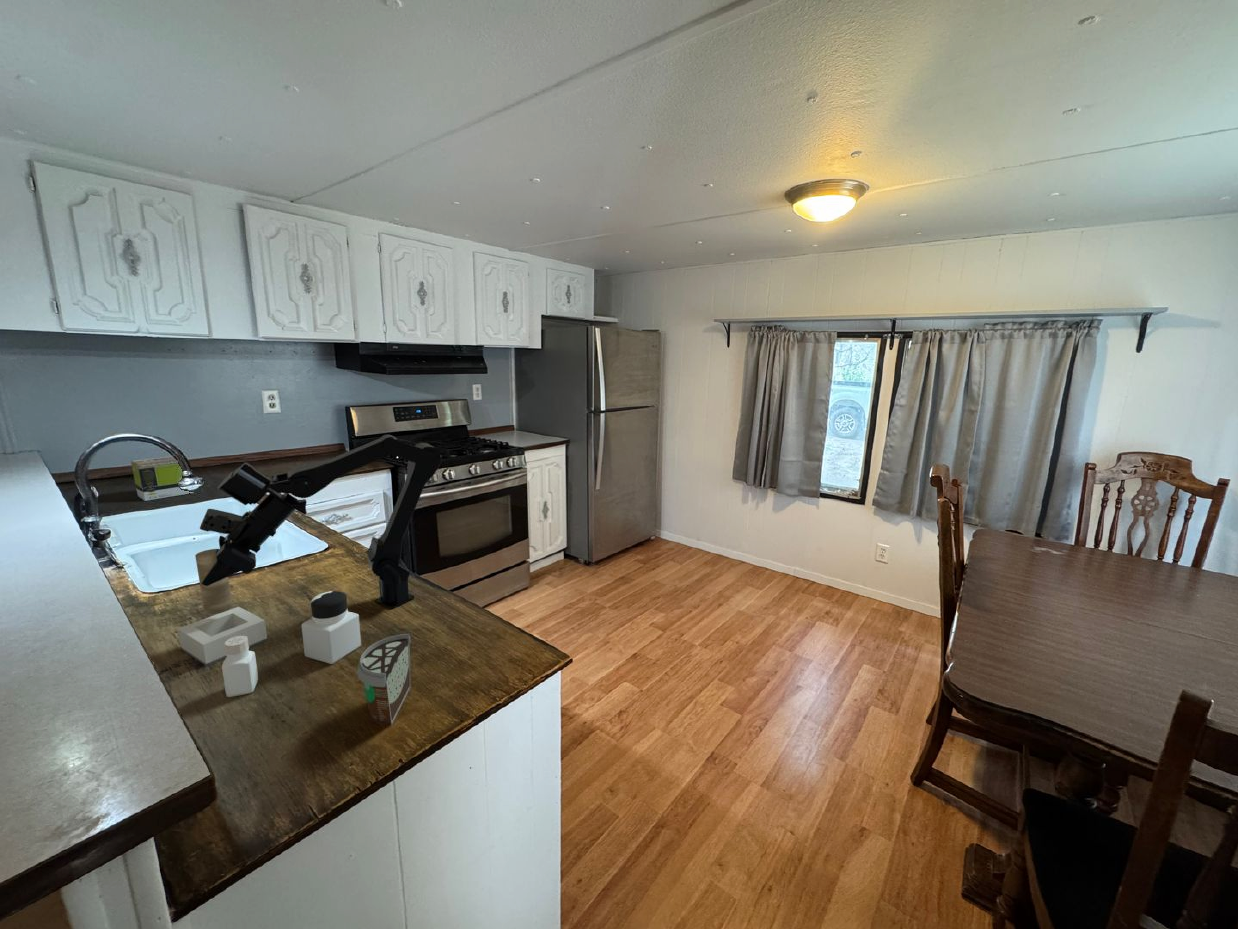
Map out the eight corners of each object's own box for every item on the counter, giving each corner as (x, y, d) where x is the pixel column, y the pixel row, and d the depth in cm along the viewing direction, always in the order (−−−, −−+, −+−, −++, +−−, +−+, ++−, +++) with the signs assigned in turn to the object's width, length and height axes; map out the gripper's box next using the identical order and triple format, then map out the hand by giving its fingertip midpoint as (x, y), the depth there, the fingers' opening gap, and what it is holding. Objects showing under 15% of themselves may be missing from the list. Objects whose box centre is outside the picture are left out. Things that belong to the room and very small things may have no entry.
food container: (378, 682, 90) (374, 632, 88) (413, 681, 90) (410, 632, 88) (347, 733, 78) (342, 676, 76) (388, 731, 78) (384, 675, 76)
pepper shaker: (225, 699, 84) (217, 649, 82) (232, 685, 88) (225, 636, 86) (253, 694, 86) (247, 644, 84) (259, 680, 90) (253, 632, 88)
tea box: (186, 489, 205) (180, 454, 202) (194, 493, 199) (188, 457, 196) (136, 496, 193) (130, 459, 190) (143, 501, 187) (137, 463, 184)
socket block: (267, 640, 102) (264, 620, 101) (206, 666, 93) (203, 644, 92) (241, 625, 107) (238, 606, 106) (181, 649, 98) (177, 628, 97)
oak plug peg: (237, 605, 101) (229, 550, 99) (215, 616, 97) (206, 558, 95) (221, 602, 103) (212, 547, 100) (198, 612, 98) (189, 555, 96)
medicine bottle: (362, 645, 101) (357, 591, 99) (331, 665, 94) (326, 607, 92) (335, 638, 103) (330, 584, 101) (304, 657, 97) (297, 600, 94)
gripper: (230, 484, 105) (169, 543, 101) (224, 507, 90) (152, 577, 86) (279, 514, 111) (223, 571, 107) (281, 540, 96) (217, 607, 92)
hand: (205, 580), depth 98 cm, fingers closed on oak plug peg, 4 cm apart
